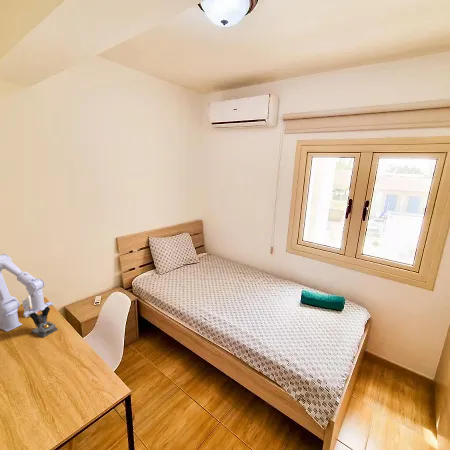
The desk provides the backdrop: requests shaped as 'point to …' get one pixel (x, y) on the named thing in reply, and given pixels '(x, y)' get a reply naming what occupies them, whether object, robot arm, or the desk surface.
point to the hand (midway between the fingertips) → (40, 321)
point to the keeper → (43, 332)
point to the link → (44, 323)
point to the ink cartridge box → (27, 304)
